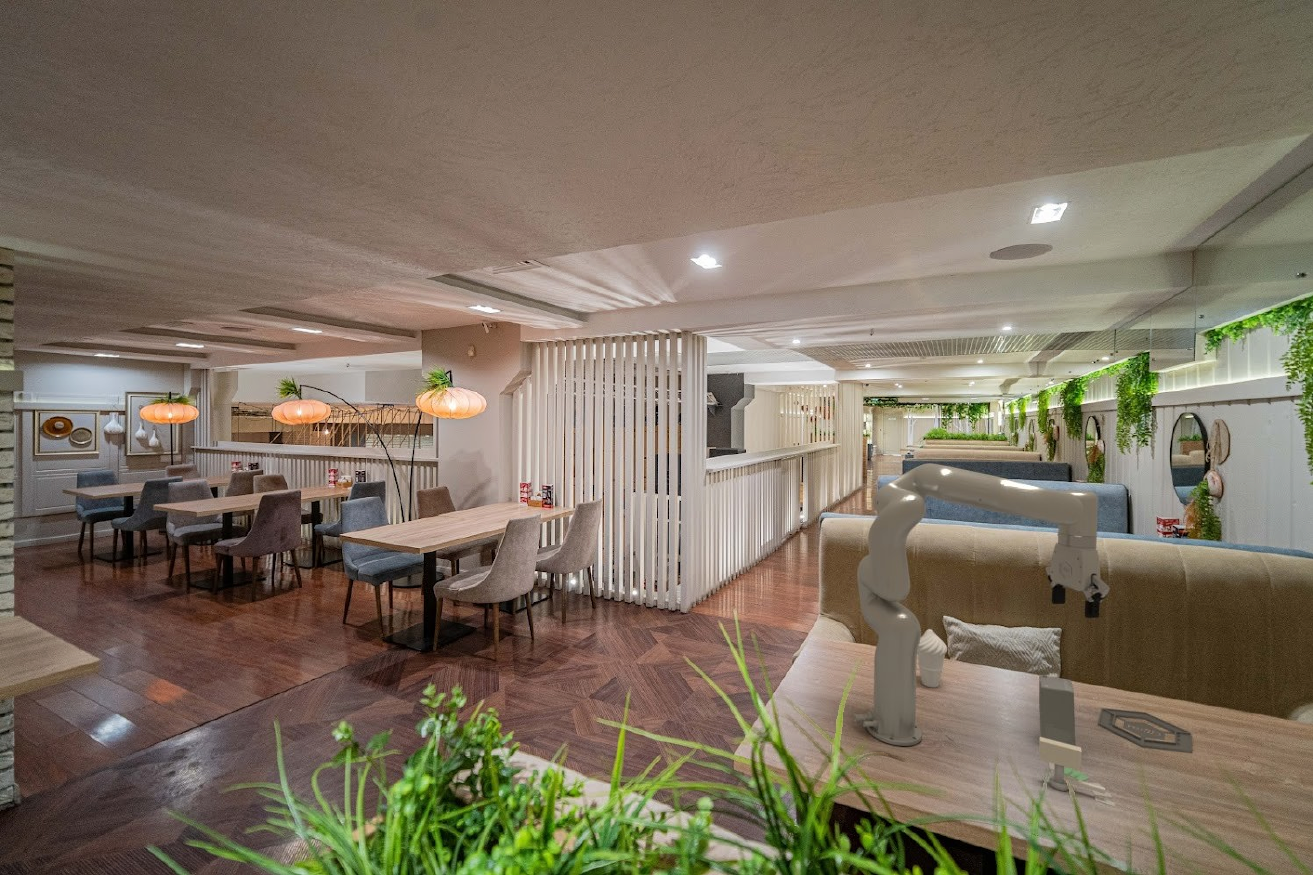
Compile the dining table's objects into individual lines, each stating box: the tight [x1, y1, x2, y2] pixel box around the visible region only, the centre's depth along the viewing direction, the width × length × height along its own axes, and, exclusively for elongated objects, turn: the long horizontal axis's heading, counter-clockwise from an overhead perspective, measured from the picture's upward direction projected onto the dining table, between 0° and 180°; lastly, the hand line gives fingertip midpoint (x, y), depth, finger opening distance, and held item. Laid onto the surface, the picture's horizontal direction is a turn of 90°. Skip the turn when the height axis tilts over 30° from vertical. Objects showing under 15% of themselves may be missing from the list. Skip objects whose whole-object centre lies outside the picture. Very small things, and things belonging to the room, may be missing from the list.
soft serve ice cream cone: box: [917, 628, 948, 689], centre depth 163 cm, size 8×8×16 cm
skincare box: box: [1038, 674, 1077, 746], centre depth 131 cm, size 8×7×16 cm
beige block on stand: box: [1038, 736, 1106, 794], centre depth 115 cm, size 11×3×9 cm, turn 57°
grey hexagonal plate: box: [1097, 707, 1193, 754], centre depth 140 cm, size 17×20×1 cm
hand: (1074, 610), depth 138 cm, fingers open, 9 cm apart
